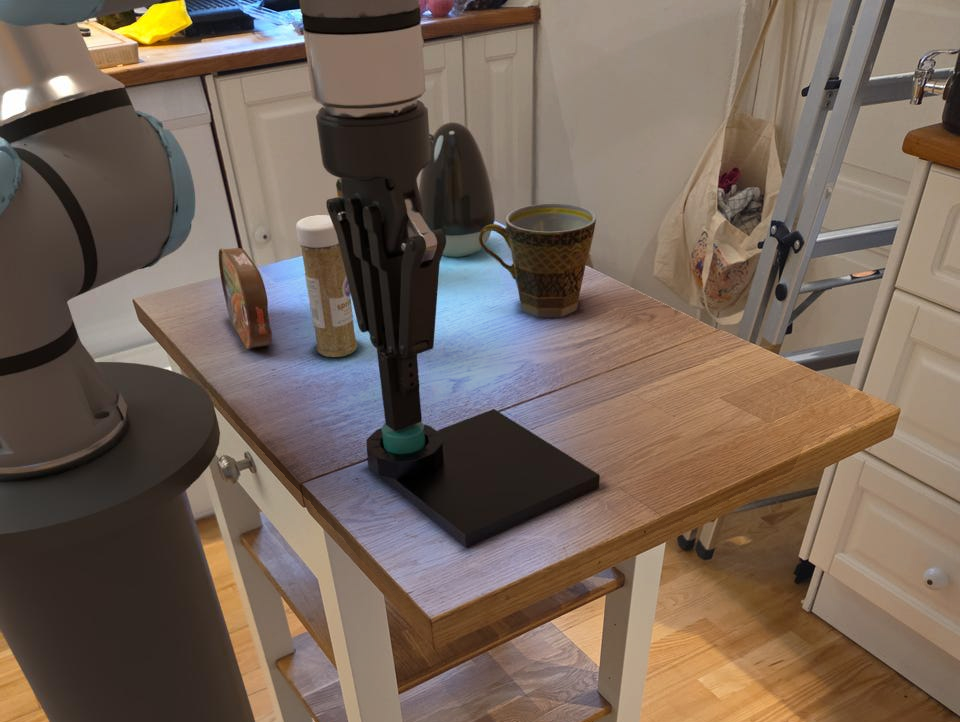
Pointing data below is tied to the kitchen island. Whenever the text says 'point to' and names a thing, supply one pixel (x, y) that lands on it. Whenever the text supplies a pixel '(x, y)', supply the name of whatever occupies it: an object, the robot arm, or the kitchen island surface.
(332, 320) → the spice jar
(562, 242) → the ceramic cup
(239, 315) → the tin
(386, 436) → the button
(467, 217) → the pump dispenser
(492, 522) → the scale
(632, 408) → the kitchen island surface
